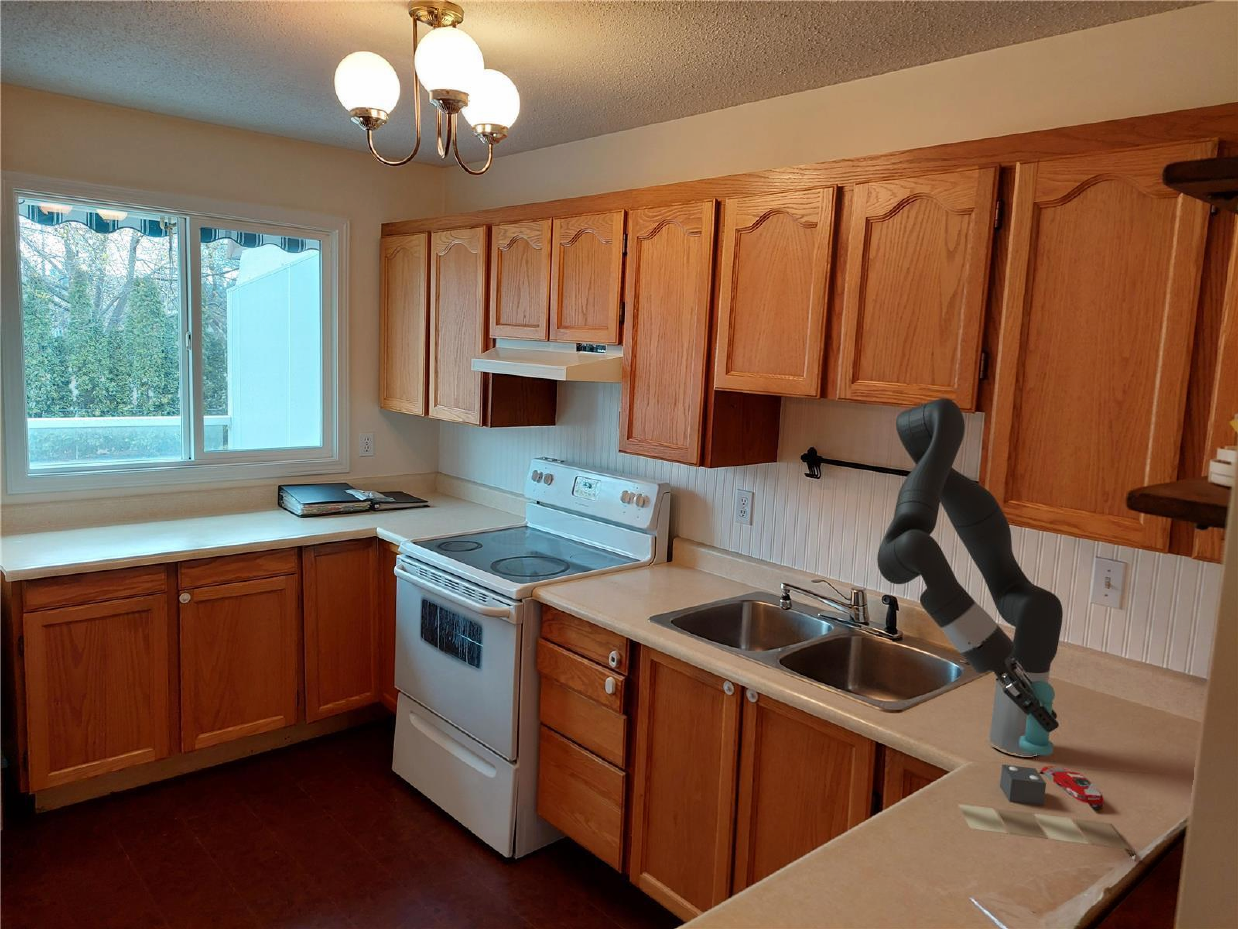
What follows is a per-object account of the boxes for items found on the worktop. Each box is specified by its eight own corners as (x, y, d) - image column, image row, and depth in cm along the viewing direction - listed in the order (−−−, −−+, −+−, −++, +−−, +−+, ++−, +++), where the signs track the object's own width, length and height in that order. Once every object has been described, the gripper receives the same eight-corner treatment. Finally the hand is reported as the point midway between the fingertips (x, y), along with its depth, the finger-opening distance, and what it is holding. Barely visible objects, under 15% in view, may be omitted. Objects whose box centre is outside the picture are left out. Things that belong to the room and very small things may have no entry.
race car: (1033, 776, 158) (1035, 756, 158) (1060, 777, 159) (1063, 756, 159) (1077, 813, 145) (1080, 790, 145) (1107, 813, 146) (1110, 791, 146)
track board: (952, 810, 143) (953, 801, 143) (1110, 830, 140) (1111, 822, 139) (965, 838, 134) (966, 829, 134) (1135, 861, 131) (1136, 852, 131)
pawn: (1015, 740, 138) (1021, 674, 137) (1046, 743, 137) (1053, 677, 136) (1024, 753, 133) (1031, 685, 132) (1056, 756, 132) (1064, 688, 131)
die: (998, 794, 150) (1002, 763, 149) (1031, 798, 149) (1035, 767, 148) (1008, 809, 144) (1011, 778, 144) (1042, 814, 144) (1046, 782, 143)
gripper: (959, 638, 145) (1031, 721, 142) (956, 662, 132) (1034, 754, 129) (996, 612, 143) (1070, 696, 139) (996, 635, 130) (1078, 728, 126)
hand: (1052, 724), depth 134 cm, fingers closed on pawn, 3 cm apart
